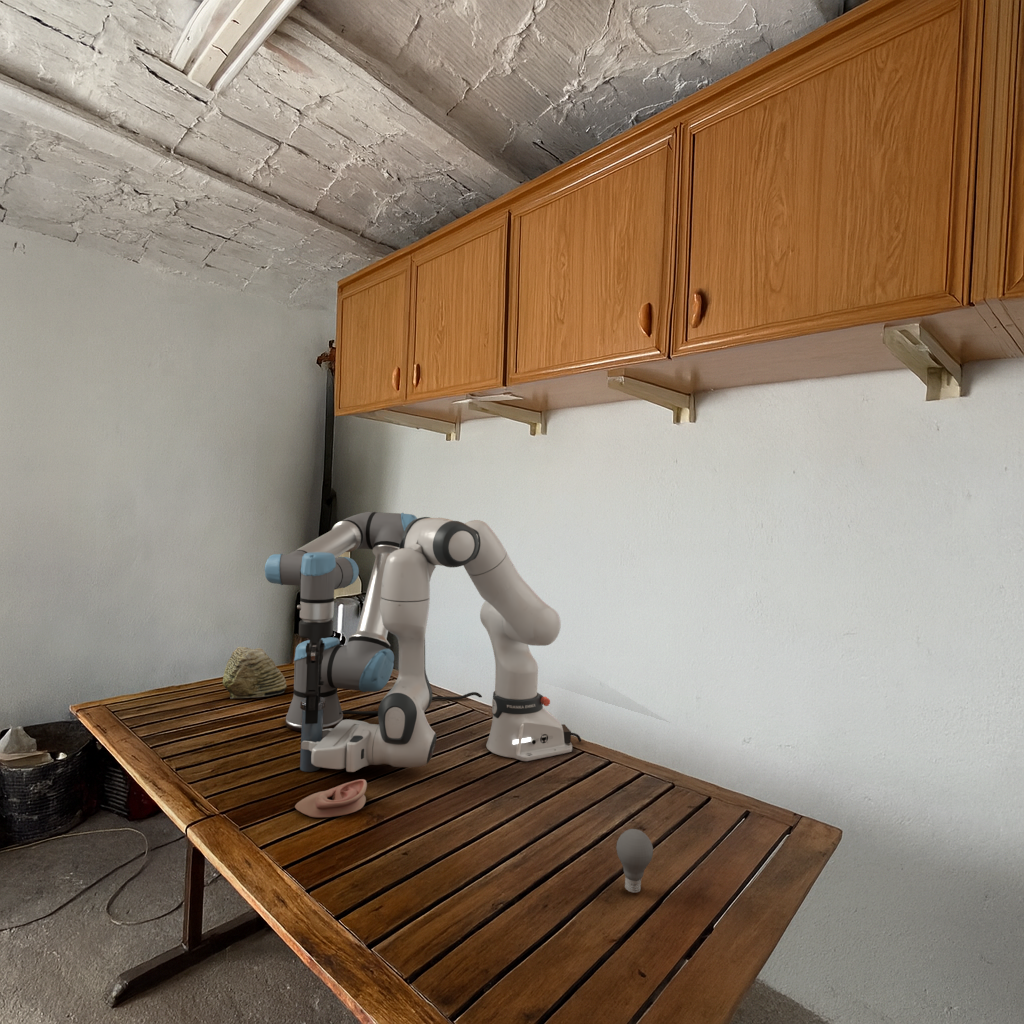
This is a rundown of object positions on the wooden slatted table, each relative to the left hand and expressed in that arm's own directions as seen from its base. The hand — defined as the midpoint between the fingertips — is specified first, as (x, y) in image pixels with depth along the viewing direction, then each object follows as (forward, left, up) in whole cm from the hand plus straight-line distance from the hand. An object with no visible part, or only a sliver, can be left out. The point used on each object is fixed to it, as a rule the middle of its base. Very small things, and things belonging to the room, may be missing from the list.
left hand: (312, 718), depth 148 cm
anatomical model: (+8, +19, -12) cm, 23 cm away
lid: (0, 0, +4) cm, 4 cm away
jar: (0, 0, -12) cm, 12 cm away
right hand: (+1, -1, -5) cm, 5 cm away
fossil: (-18, -58, -12) cm, 62 cm away
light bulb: (-9, +79, -12) cm, 80 cm away
